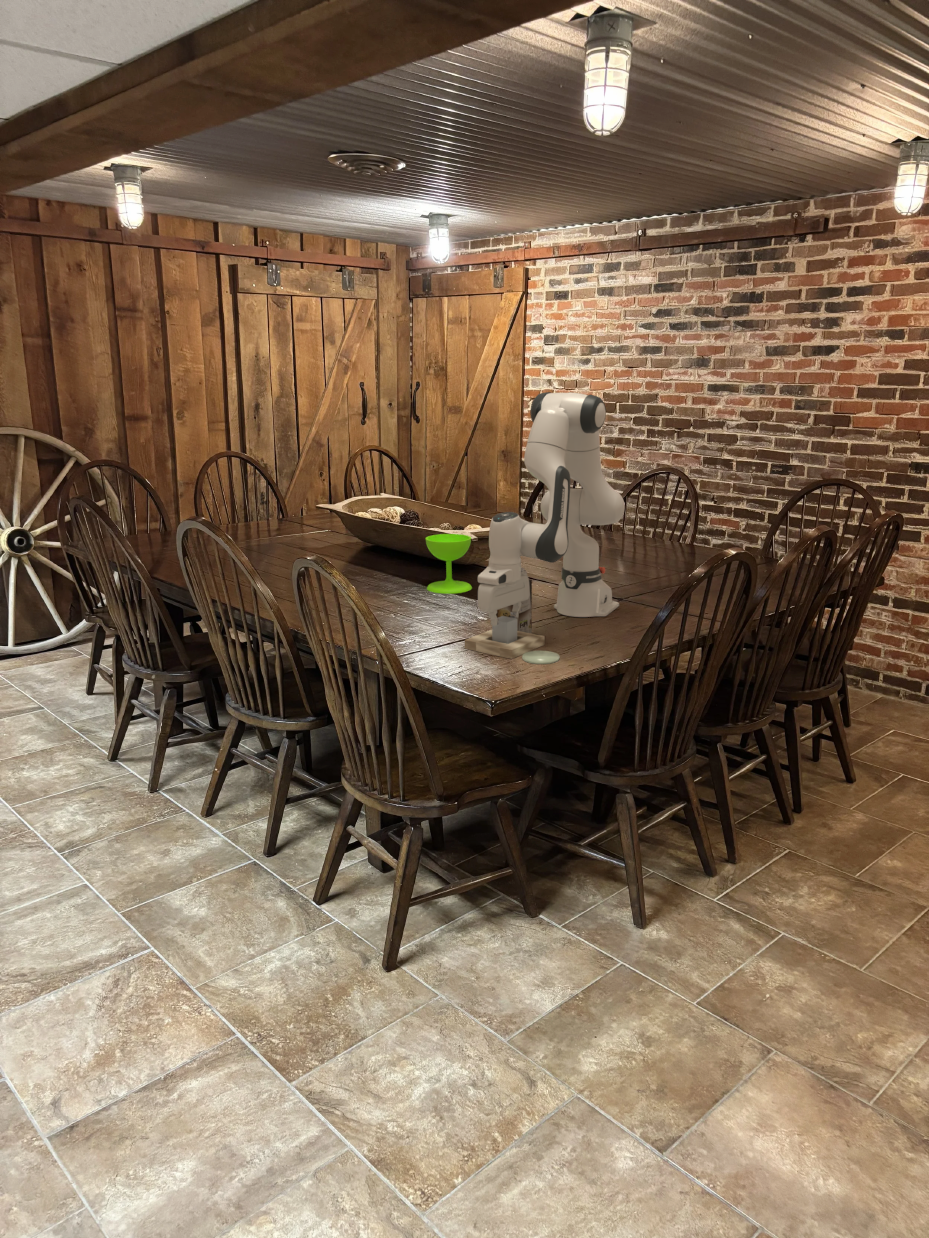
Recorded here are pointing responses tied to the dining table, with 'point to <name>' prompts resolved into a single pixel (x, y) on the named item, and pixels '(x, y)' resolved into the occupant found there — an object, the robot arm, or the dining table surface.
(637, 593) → the dining table surface
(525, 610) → the coffee box
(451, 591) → the wineglass
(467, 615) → the dining table surface
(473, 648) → the pocket board
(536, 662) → the pad
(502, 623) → the block
